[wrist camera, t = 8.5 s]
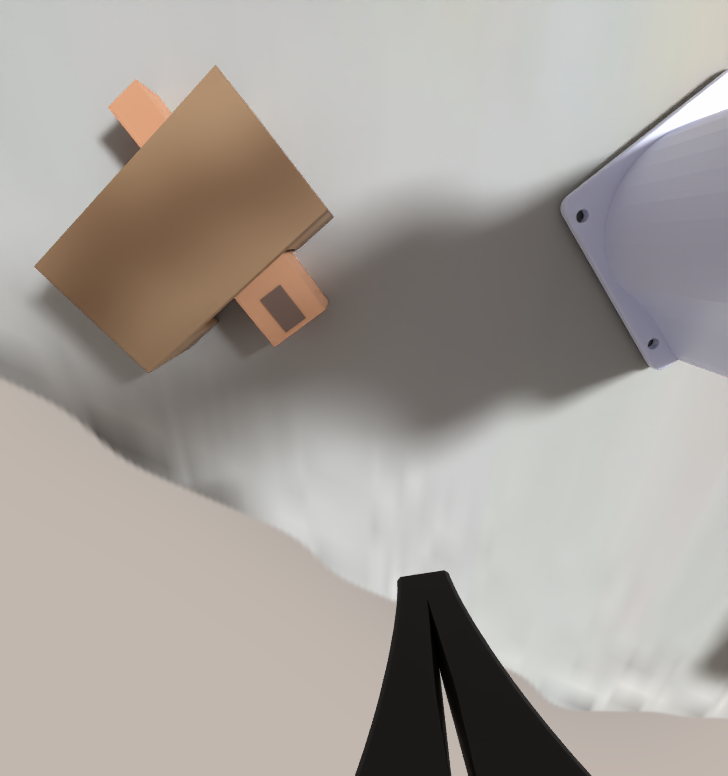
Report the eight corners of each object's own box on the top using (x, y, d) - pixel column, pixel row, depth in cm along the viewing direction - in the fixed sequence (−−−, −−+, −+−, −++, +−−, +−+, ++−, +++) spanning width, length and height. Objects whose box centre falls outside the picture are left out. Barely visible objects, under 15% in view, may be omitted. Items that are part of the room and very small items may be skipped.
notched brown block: (333, 216, 16) (327, 209, 13) (189, 348, 18) (148, 373, 15) (249, 107, 15) (215, 64, 11) (102, 261, 17) (34, 266, 13)
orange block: (328, 301, 18) (324, 310, 15) (284, 334, 18) (274, 347, 16) (169, 85, 15) (134, 55, 12) (122, 130, 15) (79, 110, 13)
